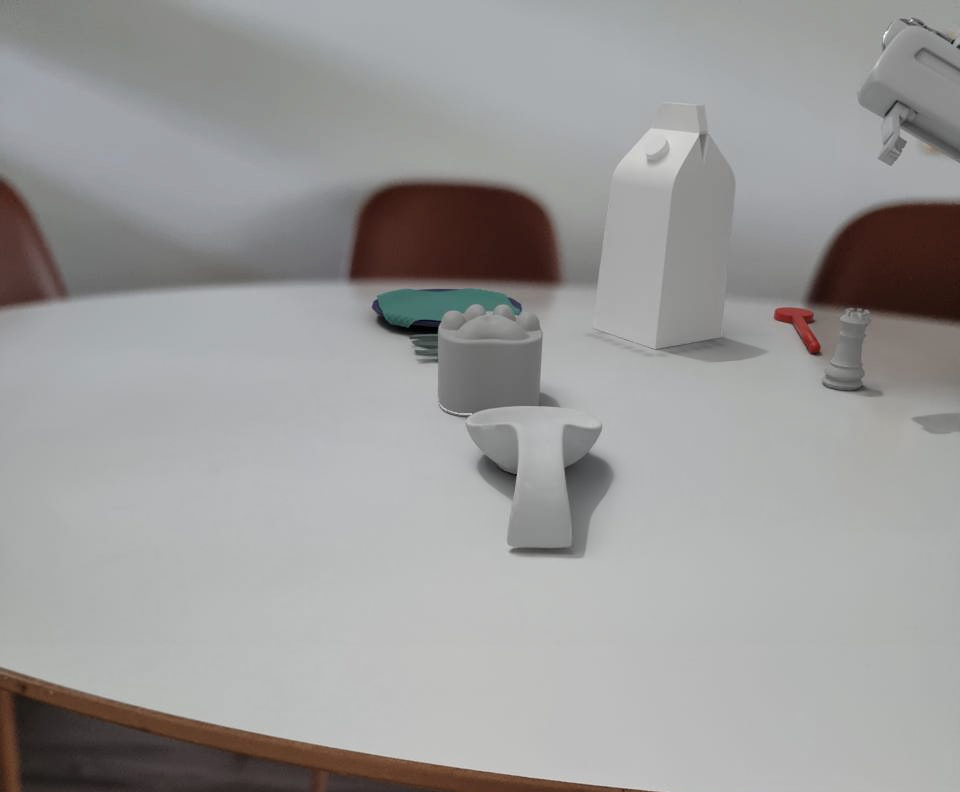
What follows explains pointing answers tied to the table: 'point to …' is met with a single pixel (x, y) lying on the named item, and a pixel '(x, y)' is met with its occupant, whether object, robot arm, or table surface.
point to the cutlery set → (434, 309)
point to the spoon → (800, 324)
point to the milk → (667, 235)
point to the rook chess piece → (848, 353)
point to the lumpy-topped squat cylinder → (488, 359)
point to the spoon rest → (536, 465)
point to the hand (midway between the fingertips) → (931, 184)
